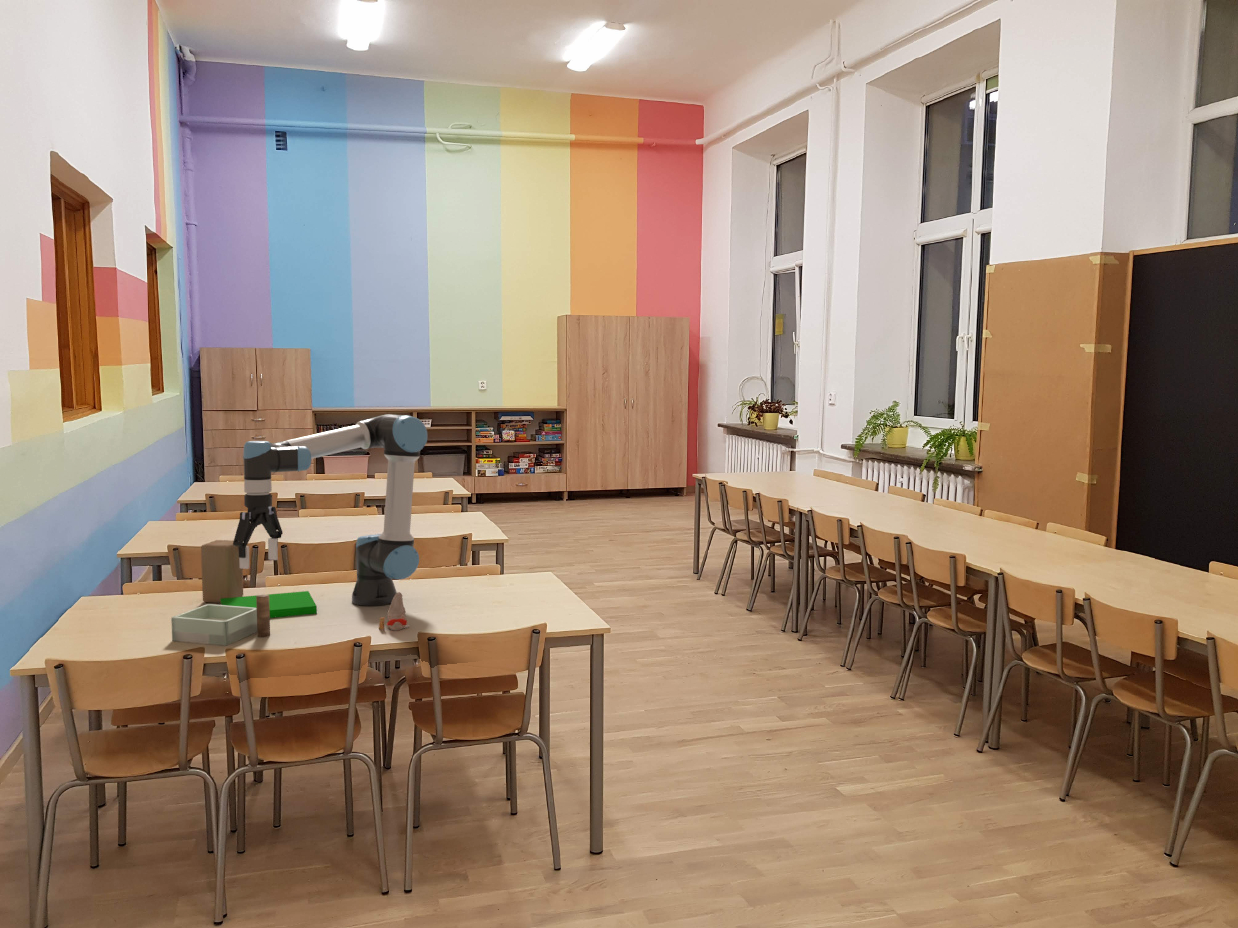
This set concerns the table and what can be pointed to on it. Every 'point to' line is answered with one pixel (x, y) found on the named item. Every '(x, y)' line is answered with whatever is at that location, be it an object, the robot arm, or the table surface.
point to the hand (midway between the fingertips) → (259, 563)
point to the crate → (214, 624)
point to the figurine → (395, 614)
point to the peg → (263, 615)
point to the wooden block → (221, 571)
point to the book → (279, 603)
